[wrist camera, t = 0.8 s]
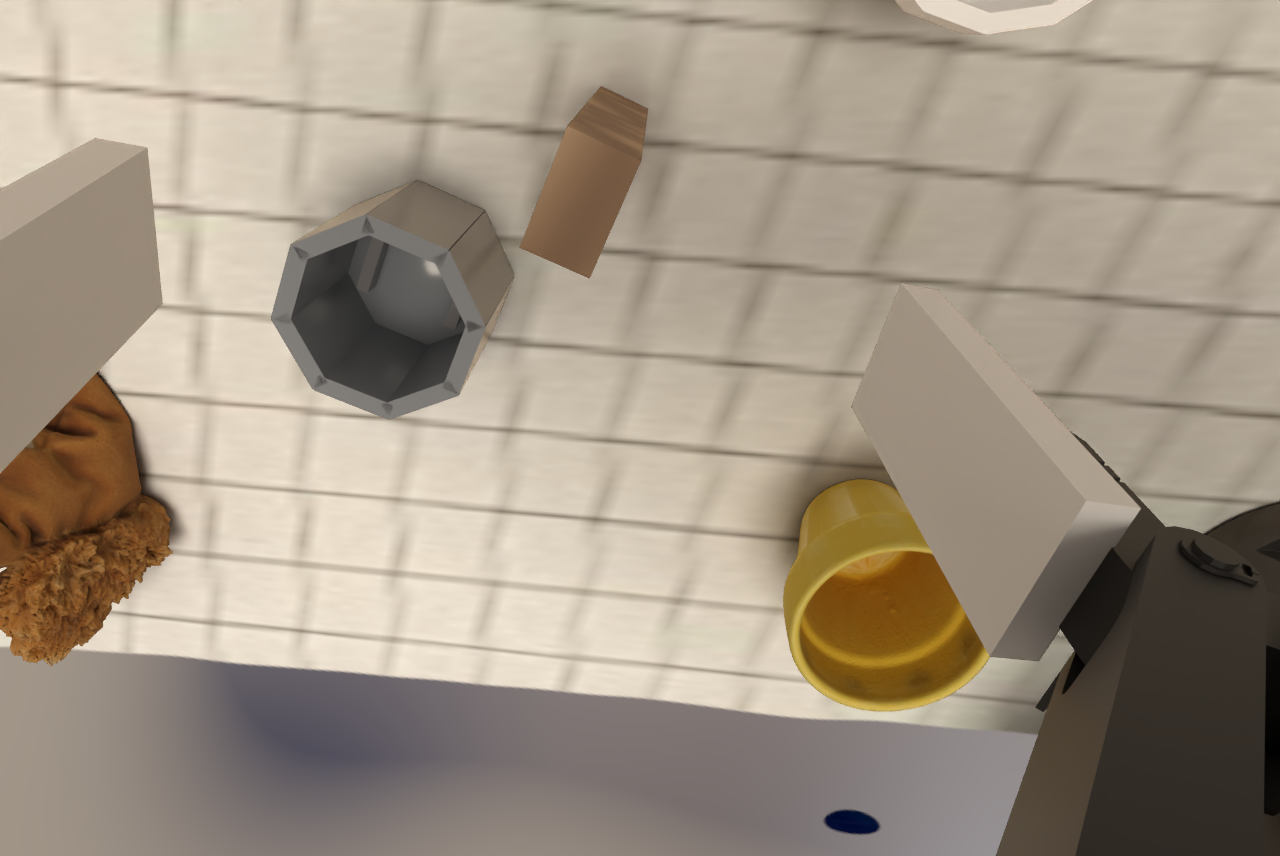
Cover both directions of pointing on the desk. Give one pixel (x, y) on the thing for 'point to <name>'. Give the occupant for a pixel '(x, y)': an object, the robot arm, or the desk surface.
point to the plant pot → (874, 605)
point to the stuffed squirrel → (74, 527)
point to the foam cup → (991, 13)
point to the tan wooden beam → (588, 182)
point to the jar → (393, 299)
